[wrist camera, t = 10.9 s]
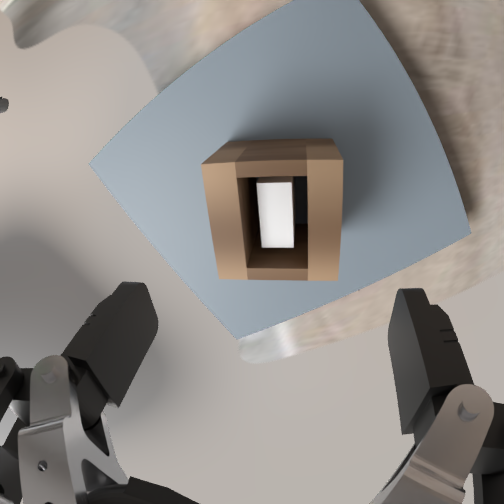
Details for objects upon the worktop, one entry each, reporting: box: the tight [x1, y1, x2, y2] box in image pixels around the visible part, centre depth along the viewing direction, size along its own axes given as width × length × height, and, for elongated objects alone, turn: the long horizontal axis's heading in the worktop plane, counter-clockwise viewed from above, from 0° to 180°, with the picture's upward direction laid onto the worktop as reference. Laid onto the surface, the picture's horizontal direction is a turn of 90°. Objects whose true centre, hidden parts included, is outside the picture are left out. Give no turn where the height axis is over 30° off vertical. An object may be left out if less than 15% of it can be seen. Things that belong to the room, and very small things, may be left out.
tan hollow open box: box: [201, 139, 343, 281], centre depth 16 cm, size 6×6×5 cm
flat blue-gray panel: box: [89, 0, 471, 339], centre depth 17 cm, size 20×18×6 cm
